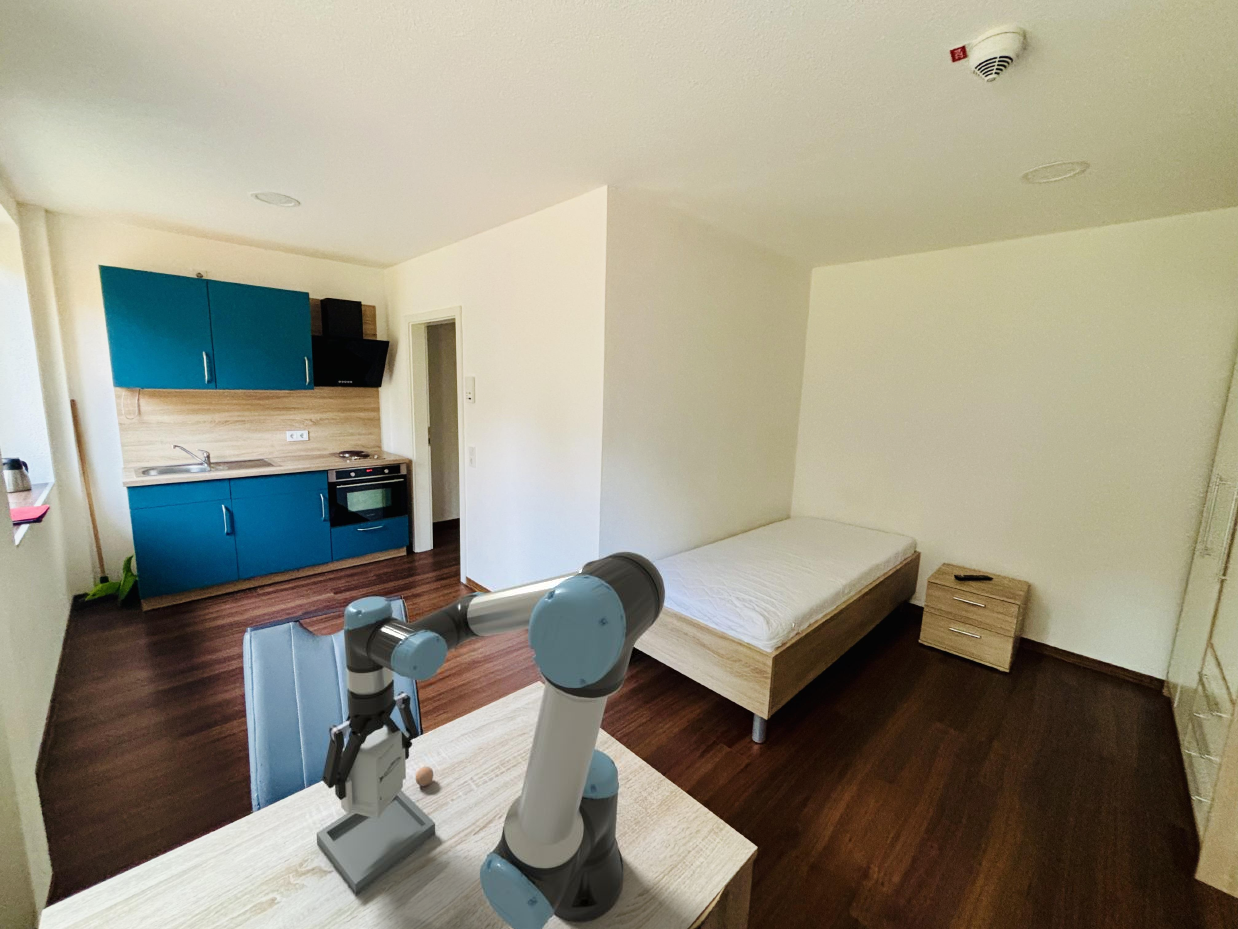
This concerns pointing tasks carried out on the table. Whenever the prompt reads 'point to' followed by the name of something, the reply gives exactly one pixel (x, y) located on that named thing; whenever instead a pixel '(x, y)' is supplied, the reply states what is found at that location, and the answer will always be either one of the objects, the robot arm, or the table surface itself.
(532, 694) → the table surface
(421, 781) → the mixing ball
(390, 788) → the supplement box
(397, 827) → the tray
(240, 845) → the table surface
